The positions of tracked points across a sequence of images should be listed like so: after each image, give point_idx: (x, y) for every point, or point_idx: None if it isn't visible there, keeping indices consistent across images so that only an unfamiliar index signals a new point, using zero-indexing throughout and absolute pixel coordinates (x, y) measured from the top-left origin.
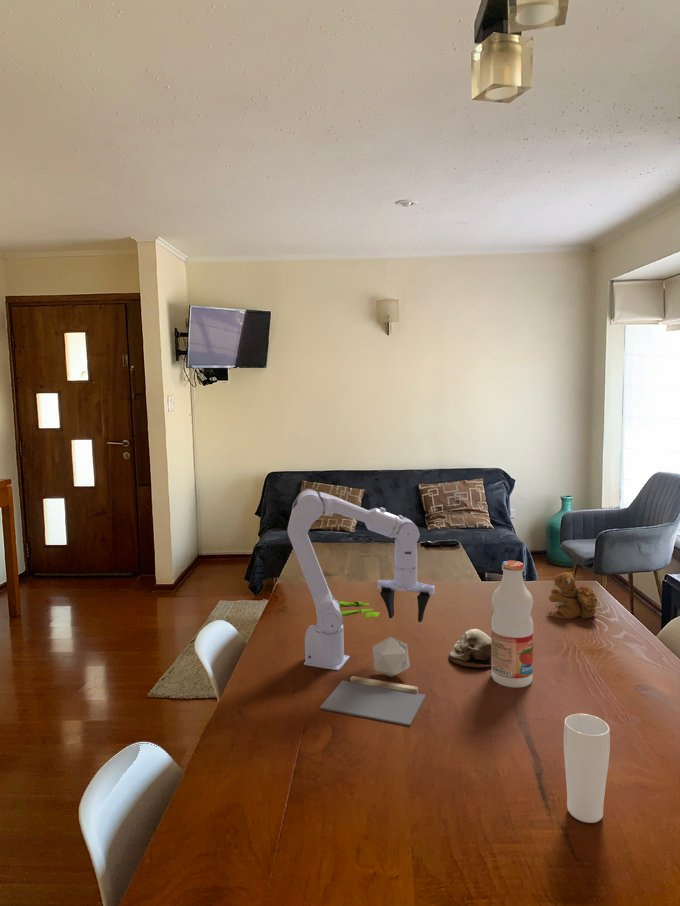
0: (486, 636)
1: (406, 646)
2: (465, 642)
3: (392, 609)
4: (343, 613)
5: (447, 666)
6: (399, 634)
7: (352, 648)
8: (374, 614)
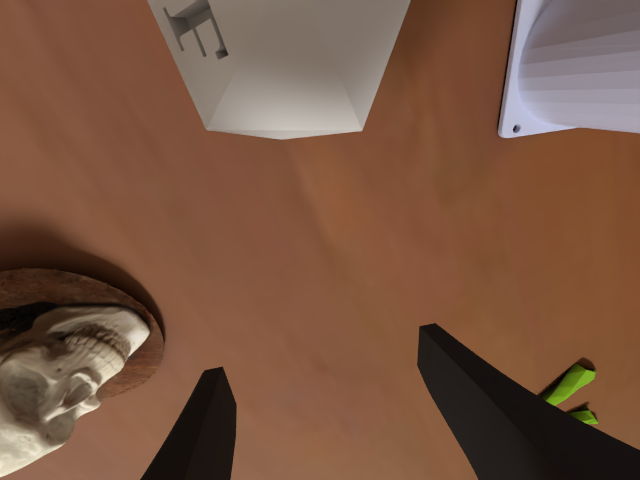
0: None
1: (186, 85)
2: (42, 383)
3: (448, 393)
4: (570, 385)
5: (120, 253)
6: (384, 367)
7: (501, 216)
8: None
